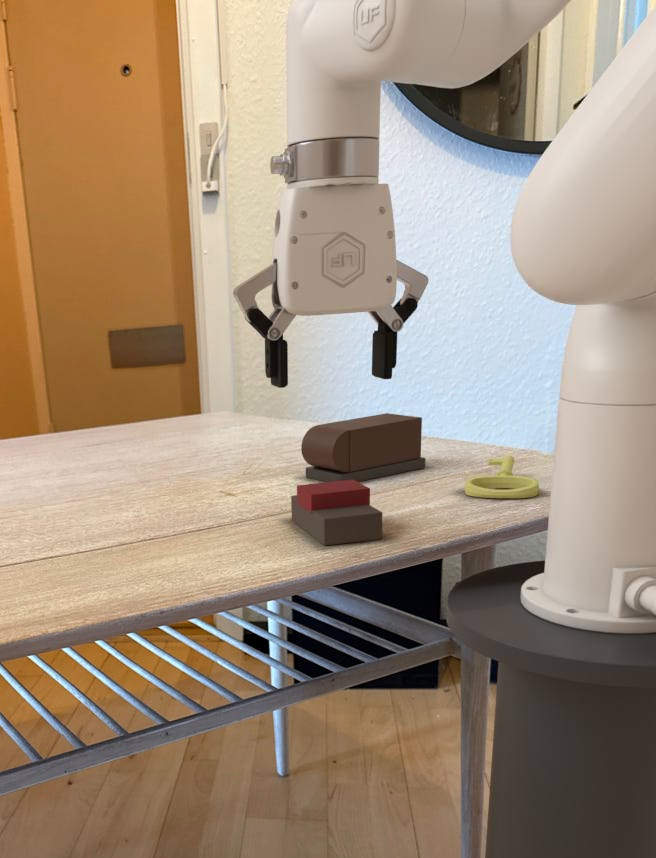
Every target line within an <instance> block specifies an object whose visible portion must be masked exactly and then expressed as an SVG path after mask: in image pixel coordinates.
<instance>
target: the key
mask: <svg viewBox="0 0 656 858" xmlns="http://www.w3.org/2000/svg"><path fill="white" fill-rule="evenodd" d="M514 464H515V458H514V456H512V455H506V456H504V458H489V460H488V466H500V470H498V471H496V473H495V474H494V475H480V476H474V477H470V478H468V479H466V481H465V483H464V494H465V495H467V496H470V497H475V498H484V499H485V498H488V499H526V498H533V497H536V496H538V494H539V489H540V486H539V481H538V480H537V479H536V478H532V477H528V476H521V475H514V474H513V467H514Z"/></svg>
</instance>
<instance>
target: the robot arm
mask: <svg viewBox="0 0 656 858" xmlns="http://www.w3.org/2000/svg"><path fill="white" fill-rule="evenodd" d="M571 1H572V0H293V1H292V3H291V4H290V5H289V8H288V11H287V13H286V14H287V15H286V23H285V25H286V26H285V61H286V62H285V63H286V64H285V66H286V67H285V71H286V75H285V76H286V148H285V149H284V152H283V153H280V155H273V156H271V157H270V162H269V168H270V174H271V175H279V176H280V177H283V178H284V184H287V185H286V187H287V188H286V189H282V190H280V191H279V196H278V201H277V208H276V214H275V221H274V230H273V240H272V254H271V264H269V265H268V266H266V267H265V268H264V269H262V270H260V271H259V272H257V273H255V274H254V275H253V276H251V277H249V278H248V279H246V280H245V281H243V282H242V283H240V284H238V285H237V286H235V287H234V288H233V291H232V295H233V298H234V299H235V301H236V303H237V305H238V308H239V309H240V311H241V312H242V314H243V317H244V319H245V321H246V322H247V323H248V324H249V325H250V326H251V327H252V328H253V329H254V330H255V331H256V332H257V333H258V334H259V335H260V337H261V338H262V339H264V370H265V371H264V373H265V377H266V378H267V379H270V385H271V386H273V387H276V388H279V389H283V388H286V387H288V386H289V352H288V350H289V349H288V348H289V346H288V341H287V340H286V339H284V333H285V332H286V330H287V329H288V327H289V326H290V325H291V323H292V322H293V321H294V319H295V318H296V317H297V316H301V317H306V316H307V317H309V316H310V317H311V316H326V315H327V316H328V315H342V314H355V313H357V314H358V313H367V314H369V316H370V317H371V319H372V320H373V321H374V322H375V323H376V324H377V330H373V333H372V340H371V341H372V342H371V344H372V347H371V375H372V376H373V377H375V378H378V379H382V380H391V379H392V378H393V369H395V368H396V366H397V356H398V353H397V352H398V332H400V331H402V330H403V328H404V324H405V323H406V321H408V319H410V317H411V316H412V315H413V314H414V313H415V311H416V310H417V308H418V304H419V301H420V300H421V298H422V297H423V294H424V292H425V290H426V288H427V286H428V284H429V278H428V277H429V276H427V275H425V274H424V273H422V272H421V271H418V270H417V269H415V268H413V267H411V266H409V265H408V264H406V263H403V262H402V261H400V260H399V259H397V245H396V244H397V243H396V231H395V220H394V210H393V203H392V202H393V201H392V196H391V191H390V185H389V183H379V177H380V174H379V172H380V131H381V91H382V90H381V89H382V88H381V87H382V82H391V83H398V84H409V85H419V86H426V87H434V88H440V89H459V88H463V87H467V86H470V85H472V84H474V83H476V82H478V81H481V80H482V79H484V78H485V77H487V76H488V75H490V74H491V73H493V72H494V71H496V70H497V69H499V68H500V67H501V66H502V65H503V64H504V63H506V62H507V61H509V59H511V58H513V56H514V55H515V54H517V52H519V51H520V50H521V49H522V48H523V47H524V46H525V45H526V44H528V43H529V42H530V41H531V40H533V38H534V37H536V36H537V35H538V34H539V33H540V32H541V31H542V30H543V29H544V28H545V27H546V26H548V25H549V24H550V23H551V22H552V21H553V20H555V18H557V16H559V14H560V13H561V12H562V11H563V10H564V9H565V8H566V6H568V4H569V3H570V2H571ZM602 73H603V74H601V76H600V77H599V79H598V80H597V81H596V82H595V84H594V85H593V86H592V88H591V89H590V90H589V92H588V93H587V94H586V96H585V97H584V98H583V100H582V101H581V103H580V104H578V106H577V107H576V108H575V110H574V111H573V113H572V114H571V116H570V117H569V118H568V120H567V121H566V122H565V124H564V125H563V126H562V127H561V129H560V130H559V131H558V133H557V134H556V136H555V137H554V138H553V139H552V141H551V142H550V143H549V145H548V146H547V147H546V149H545V150H544V151H543V153H542V155H541V156H540V157H539V159H538V160H537V162H536V163H535V165H534V167H532V170H531V171H530V173H529V175H528V176H527V178H526V180H525V182H524V183H523V186H522V188H521V190H520V192H519V194H518V197H517V200H516V203H515V206H514V209H513V213H512V217H511V223H510V233H509V234H510V235H509V237H510V238H509V239H510V240H509V241H510V248H511V249H510V251H511V255H512V259H513V263H514V266H515V268H516V270H517V272H518V273H519V276H520V277H521V278H522V279H523V281H524V283H526V285H527V286H528V287H529V288H530V289H531V290H533V291H534V292H535V293H537V294H538V295H540V296H542V297H543V298H545V299H548V300H550V301H552V302H556V303H558V304H564V305H572V306H575V310H574V313H573V316H572V319H571V322H570V327H569V331H568V334H567V338H566V343H565V346H564V347H565V348H564V353H563V359H562V365H561V366H562V367H561V374H560V375H561V376H560V385H559V395H558V404H557V413H556V414H557V415H556V426H555V438H554V439H555V440H554V450H553V463H552V476H551V485H550V499H549V509H548V510H549V511H548V523H547V533H546V547H545V559H544V561H545V569H544V573H541V574H539V575H536V576H533V577H532V578H530V579H528V580H527V581H526V582H525V583H524V584H523V585H522V588H521V597H520V598H521V603H522V605H523V606H524V607H525V608H526V609H527V610H528V611H529V612H531V613H532V614H534V615H536V616H538V617H540V618H542V619H544V620H547V621H549V622H552V623H555V624H559V625H562V626H566V627H570V628H575V629H581V630H586V631H593V632H602V633H615V634H648V633H656V4H655V6H653V8H652V9H651V10H650V12H649V13H648V14H647V15H646V17H645V18H644V19H643V21H642V22H640V25H639V26H638V27H637V28H636V30H635V31H634V32H633V34H631V36H630V38H629V39H628V40H627V41H626V43H625V44H624V45H623V47H622V48H621V49H620V50H619V52H618V54H617V55H616V56H615V58H614V59H613V60H612V61H611V63H610V64H609V66H607V68H606V70H605V71H604V72H602ZM397 281H398V282H400V283H402V284H403V285H404V290H403V294H402V296H401V298H400V299H399V300H397V302H396V303H395V300H396V296H397V286H398V285H397V283H398V282H397ZM268 287H270V295H271V296H270V297H271V304H272V307H273V310H272V312H271V313H270V315H269V316H267V315H266V314H265V313H264V312H263V311H262V310H261V309H260V307H259V306H258V303H257V301H256V295H258V293H260V292H261V291H264V290H265V289H266V288H268ZM394 303H395V304H394ZM393 304H394V305H393Z"/></svg>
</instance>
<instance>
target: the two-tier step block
mask: <svg viewBox="0 0 656 858" xmlns="http://www.w3.org/2000/svg"><path fill="white" fill-rule="evenodd" d="M290 505H291V521H292V522H293V523H294V524H296V525H297V526H298V527H300V529H302V530H304V531H305V533H308V534H309V535H310V536H311V537H313V538H314V539H315V540H317V542H319V543H320V544H322V545H323V546H325V547H326V546H333V545H334V546H335V545H343V544H350V543H358V542H359V543H360V542H367V541H377V540H382V539H383V512H382V511H381V510H380V509H377V508H376V507H374V506H373V505H371V488H370V487H369V486H366V485H364V484H362V483H360V481H359V482H357V481H355V480H343V481H334V482H325V481H324V482H317V483H316V482H315V483H307V484H298V485H296V494H295V495H291V496H290Z"/></svg>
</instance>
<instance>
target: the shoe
mask: <svg viewBox="0 0 656 858" xmlns="http://www.w3.org/2000/svg"><path fill="white" fill-rule="evenodd" d="M422 429H423V417H421V416H414V415H413V416H412V415H403V414H398V413H397V414H395V413H388V412H387V413H381V414H374V415H369V416H362V417H357V418H350V419H345V420H339V421H332V422H327V423H322V424H317V425H314V426H312V427H310V428H309V429H308V430H307V431H306V432H305V434H304V436H303V438H302V441H301V447H300V449H301V455H302V458H303V459H304V461H305V462H306V463H307V464H308V465H309V466H307V467H305V478H308V479H313V480H317V481H321V482H324V483H325V482H334V481H343V480H355V481H357V482H359V483H360V482H363V481H369V480H373V479H377V478H383V477H387V476H391V475H392V476H393V475H397V474H402V473H407V472H411V471H416V470H420V469H425V468H426V458H425V457H423V456H422V433H423V432H422V431H423V430H422Z"/></svg>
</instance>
